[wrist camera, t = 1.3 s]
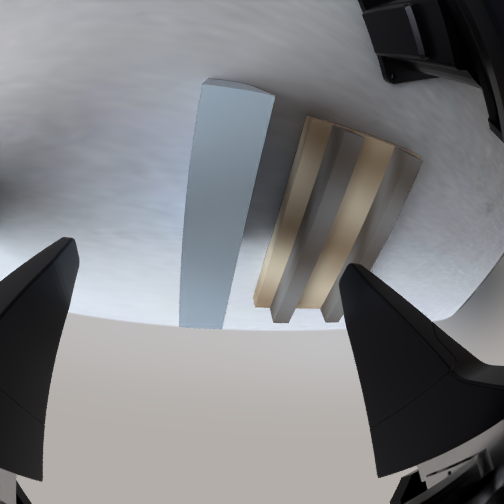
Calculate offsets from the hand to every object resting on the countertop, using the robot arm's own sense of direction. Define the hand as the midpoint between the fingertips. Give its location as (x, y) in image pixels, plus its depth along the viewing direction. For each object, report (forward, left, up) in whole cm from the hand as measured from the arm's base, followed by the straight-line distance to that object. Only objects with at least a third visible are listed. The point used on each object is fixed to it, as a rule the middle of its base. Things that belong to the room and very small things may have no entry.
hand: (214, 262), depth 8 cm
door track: (-5, +7, -8) cm, 12 cm away
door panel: (0, 0, -8) cm, 8 cm away
